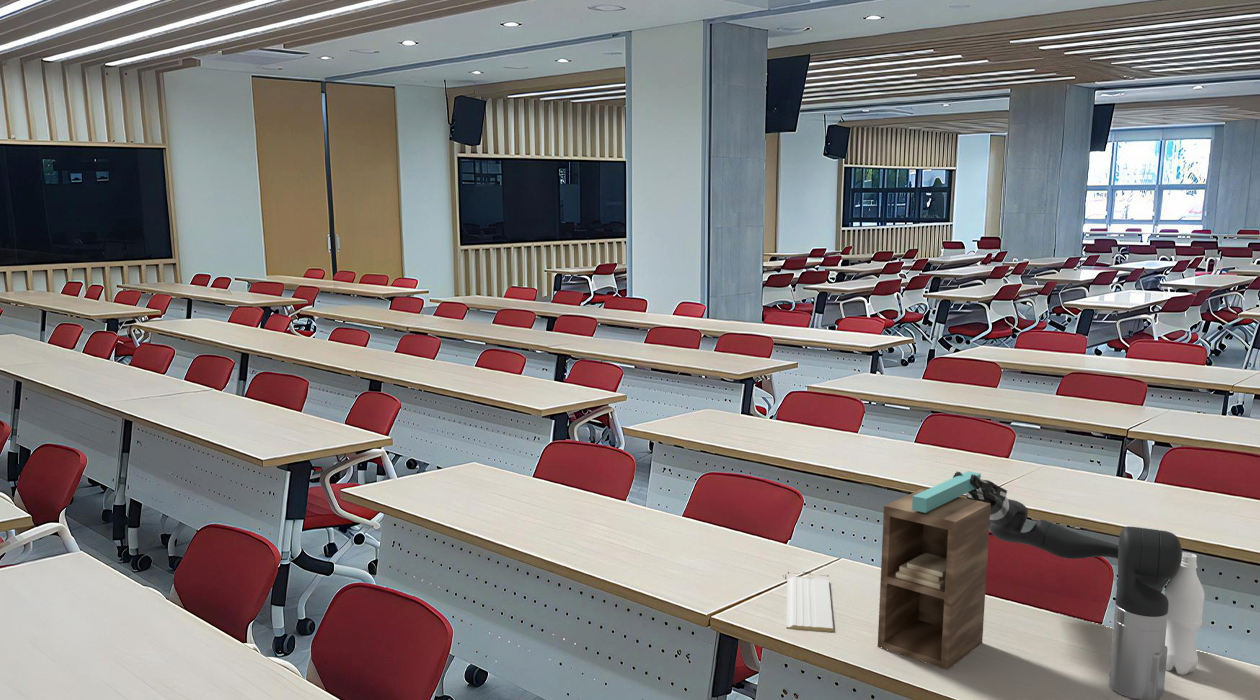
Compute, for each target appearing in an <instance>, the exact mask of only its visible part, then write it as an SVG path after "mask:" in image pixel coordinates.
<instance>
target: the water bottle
mask: <svg viewBox="0 0 1260 700" xmlns="http://www.w3.org/2000/svg"><path fill="white" fill-rule="evenodd" d="M1197 560H1198V558H1197V554H1195V553H1191V552H1183V551H1182V561H1181V565H1180V568H1179V570H1178V572H1177V574H1176V575H1175V576H1174V577H1173V578H1171V579H1169V580H1168V582H1167V583H1166V585H1165V589H1164V592H1165V593H1164V595H1165V596H1166V597H1167V599H1168V602H1169V606H1168V616H1167V627H1166V639H1165V646H1167V648H1168V649H1167V661H1166V671H1167V672H1168V671H1169V672H1170V671H1172V669H1173V668H1174V667H1175V671H1176V673H1177V674H1179V675H1187V674H1188V673H1193V672H1194V671H1195V670H1196V669H1197V666H1198V663H1199V656H1198V652H1197V646H1196V645H1197V644H1196V643H1197V641H1196V639H1197V633H1198V631H1199V629H1200V627H1201V626H1202V624H1203V609H1204V602H1205V601H1204V600H1205V596H1206V595H1205V590H1204V588H1203V585H1202V583H1201V581H1200V579H1199V577H1198V574H1197V569H1198V562H1197Z"/></svg>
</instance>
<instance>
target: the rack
mask: <svg viewBox="0 0 1260 700" xmlns="http://www.w3.org/2000/svg"><path fill="white" fill-rule="evenodd" d="M925 490H926V489H923V488H921V489H919V490H917V491H914V492H912V493H910V494H907V495H905V496H903V497H901V498H898V499H896V500H895V501H892V502H889V503H888V504H885V505H883V521H882V538H881V543H882V544H881V561H880V562H881V565H880V586H879V587H880V588H879V607H878V610H879V611H878V632H877V648H880V647H882V648H881V649H883V648H884V649H883V650H886V649H888V650H887V651H889V650H890V651H889V652H893V653H895V654H899V655H902V656H904V657H907V658H910V659H913V660H917V661H919V662H922V663H925V662H926V663H925V664H929V665H931V666H934V667H937V666H938V667H937V668H939V667H940V669H942V668H943V669H944V670H945V669H946V671H948V670H949V668H950V669H951V668H952V667H953V666H955V665H956V664H957V663H959V662H960V661H961V660H962V659H964V658H965V657H966V656H968V654H970V653H971V652H972V651H974V650H975V649H976V648H977V647H979V646H981V645H982V644H983V636H984V635H983V633H984V621H985V620H984V619H985V618H984V617H985V606H986V603H985V602H986V588H987V585H986V584H987V572H988V571H987V570H988V556H989V537H990V525H991V522H990V508H991V503H986V502H981V501H976V500H971V499H967V497H961V496H959V497H957V498H955V499H953V500H951V501H949V502H947V503H945V504H943V505H941V506H939V507H936V508H934V509H932V510H930V511H928V512H926V513H924V512H920V511H915V510H912V502H913V496H914V495H916V494H918V493H921V492H923V491H925ZM954 664H955V665H954Z"/></svg>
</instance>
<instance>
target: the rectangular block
mask: <svg viewBox="0 0 1260 700" xmlns="http://www.w3.org/2000/svg"><path fill="white" fill-rule="evenodd" d="M972 474H973V475H976V476H977V477H978V478H979V479H981V478H982V477H981V476H982V475H981V474H982V473H980V472H979V473H978V472H973V471H966V472H964V473H962V475H959V476H956V477H954V478H953V477H951V478H950V479H948V480H945V481H943V482H941V483H939V484H937V485H934V486H932V487H929V488H928V489H924V490H925V491H923V492H921V493H918V494H916V495H914V496H913V502H912V510H915V511H920V512H924V513H926V512H928V511H930V510H932V509H934V508H936V507H939V506H941V505H943V504H945V503H947V502H949V501H951V500H953V499H955V498H957V497H961V496H963V495H966V494H965V493H967V492H969V491H971V490H974V489H976V488H974V487H973V486H972V485H971V484H970V479H971V475H972Z"/></svg>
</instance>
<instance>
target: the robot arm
mask: <svg viewBox="0 0 1260 700" xmlns="http://www.w3.org/2000/svg"><path fill="white" fill-rule="evenodd" d="M962 474H963V473H962V472H961V471H956V472H955V473H954V474H953V476H952V478H954V477H956V476H959V475H962ZM970 484H971V485H972V486H973V487H974V488H976V489H974V490H971V491H969V492H967V493H965V494H964V495H966V498H967V499H971V500H976V501H981V502H986V503H991V508H990V525H989V532H990V533H991V535H993V537H995V538H997V540H1001V541H1004V542H1009V543H1010V542H1011V543H1016V544H1017V543H1018V544H1023V545H1026V546H1027V545H1028V546H1032V547H1035V548H1038V549H1040V550H1043V551H1045V552H1047V553H1050V555H1051V554H1052V555H1054V556H1056V557H1059V558H1062V559H1067V560H1068V559H1069V560H1074V559H1075V560H1077V559H1078V560H1079V559H1087V558H1101V557H1102V558H1103V557H1104V558H1111V559H1112V558H1114V559H1117V579H1116V593H1115V601H1114V602H1115V604H1114V615H1113V627H1112V638H1111V639H1112V642H1111V653H1110V663H1109V664H1110V665H1109V667H1110V668H1109V674H1108V675H1109V676H1108V677H1109V678H1108V679H1109V680H1108V685H1109V687H1110V688H1111V689H1112V690H1113V691H1114V692H1115V693H1118V694H1120V695H1122V696H1124V697H1127V698H1131V699H1134V700H1158V699H1160V698H1161V695H1162V694H1163V693H1164V691H1165V683H1166V682H1165V681H1166V671H1167V670H1166V661H1167V649H1168V648H1167V646H1165V639H1166V627H1167V616H1168V606H1169V602H1168V599H1167V597H1166V596H1165V593H1163V592H1162V591H1163V589H1164V587H1166V585H1167V583H1168V582H1169V580H1170V579H1171V578H1173V577H1174V576H1175V575H1176V574H1177V572H1178V570H1179V568H1180V565H1181V561H1182V552H1183V550H1182V549H1183V548H1182V544H1181V541H1180V539H1179V538H1178V537H1177V535H1176V534H1174V533H1172V532H1170V531H1167V530H1159V529H1154V528H1145V527H1138V526H1125V527H1123V528H1122V530H1120V531H1121V532H1120V535H1119V538H1118V544H1116V543H1112V542H1109V541H1106V540H1102V539H1098V538H1095V537H1092V536H1088V535H1084V534H1081V533H1078V532H1075V531H1073V530H1071V529H1068V528H1065V527H1063V526H1060V525H1057V524H1055V523H1053V522H1051V521H1049V520H1046V519H1039V520H1038V521H1037V522H1036V523H1034V525H1033V526H1032V528H1031V529H1030V530H1028V531H1026V532H1022V530H1023V528H1024V525H1025V523H1026V521H1027V519H1028V517H1029V516H1028V515H1029V513H1028V512H1029V511H1028V508H1027V506H1026V505H1025V504H1024V503H1021V502H1020V501H1018V500H1015V499H1009V498H1008V497H1007V495H1008V494H1007V493H1008V490H1007V489H1005V488H1003V487H1001V486H1000V485H997V484H996V483H994V482H992V481H990V480H988V479H981V478H980V479H979V478H978V477H977V476H976V475H973V474H972V475H971V479H970Z"/></svg>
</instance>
